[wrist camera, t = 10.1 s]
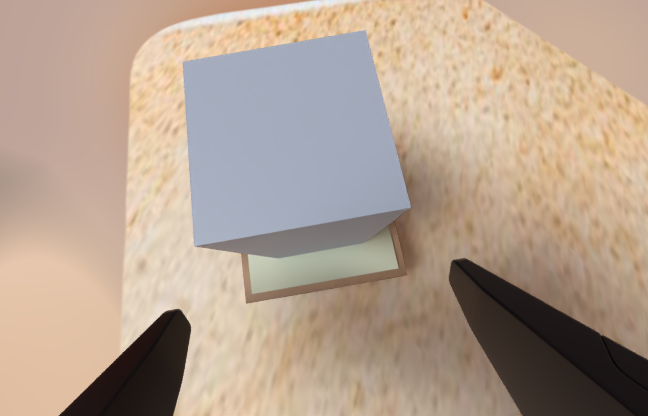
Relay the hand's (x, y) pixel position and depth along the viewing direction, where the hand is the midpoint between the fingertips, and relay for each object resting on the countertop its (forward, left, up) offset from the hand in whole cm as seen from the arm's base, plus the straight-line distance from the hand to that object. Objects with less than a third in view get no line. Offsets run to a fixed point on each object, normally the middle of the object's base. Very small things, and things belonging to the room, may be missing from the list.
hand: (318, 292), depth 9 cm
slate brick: (+5, -1, -7) cm, 9 cm away
